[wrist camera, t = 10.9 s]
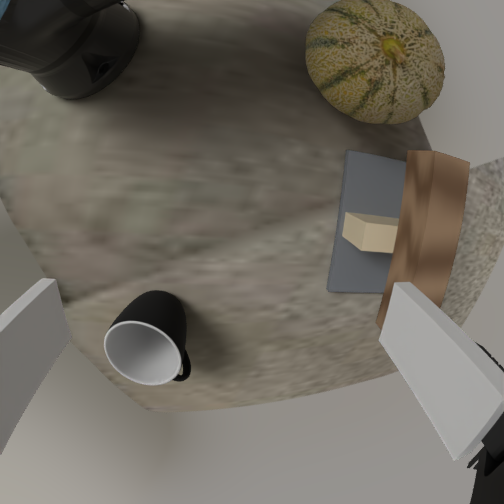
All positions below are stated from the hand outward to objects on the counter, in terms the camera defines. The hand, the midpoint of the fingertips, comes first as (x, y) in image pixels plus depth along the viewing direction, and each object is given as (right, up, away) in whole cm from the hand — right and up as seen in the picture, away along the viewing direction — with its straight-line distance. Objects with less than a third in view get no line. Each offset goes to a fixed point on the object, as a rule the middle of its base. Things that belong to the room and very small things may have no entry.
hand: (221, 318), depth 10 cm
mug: (-11, -7, +28) cm, 31 cm away
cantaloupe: (+13, +24, +20) cm, 34 cm away
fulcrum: (+19, +6, +26) cm, 32 cm away
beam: (+19, +3, +19) cm, 27 cm away
